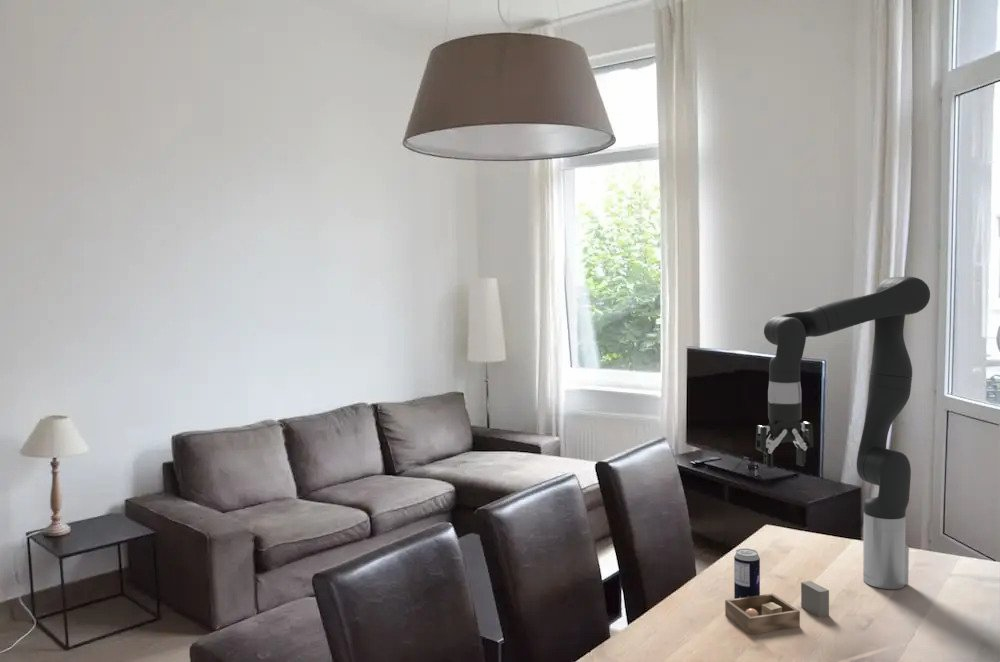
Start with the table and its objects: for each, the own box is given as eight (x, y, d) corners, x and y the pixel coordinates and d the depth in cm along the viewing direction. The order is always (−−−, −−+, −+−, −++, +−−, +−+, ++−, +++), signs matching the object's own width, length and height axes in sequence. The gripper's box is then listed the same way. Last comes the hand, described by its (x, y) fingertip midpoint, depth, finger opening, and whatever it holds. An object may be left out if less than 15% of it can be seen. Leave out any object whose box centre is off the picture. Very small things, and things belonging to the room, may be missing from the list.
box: (772, 610, 179) (772, 593, 178) (799, 629, 169) (799, 611, 169) (725, 617, 176) (725, 600, 175) (750, 636, 166) (750, 618, 166)
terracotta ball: (753, 618, 173) (753, 605, 173) (761, 624, 170) (761, 610, 170) (741, 620, 173) (741, 607, 172) (749, 625, 170) (749, 612, 170)
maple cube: (772, 615, 175) (772, 602, 175) (782, 620, 172) (782, 607, 172) (761, 617, 174) (761, 604, 173) (771, 623, 171) (771, 609, 171)
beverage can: (761, 608, 180) (761, 556, 179) (735, 606, 181) (735, 555, 180) (758, 598, 186) (758, 548, 185) (733, 596, 187) (733, 547, 186)
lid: (821, 602, 183) (821, 574, 183) (854, 620, 173) (854, 590, 173) (776, 611, 179) (776, 582, 179) (808, 629, 170) (808, 599, 169)
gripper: (800, 396, 193) (800, 461, 194) (749, 399, 189) (749, 465, 191) (820, 400, 186) (820, 467, 187) (767, 404, 182) (767, 473, 183)
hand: (784, 466), depth 189 cm, fingers open, 8 cm apart
